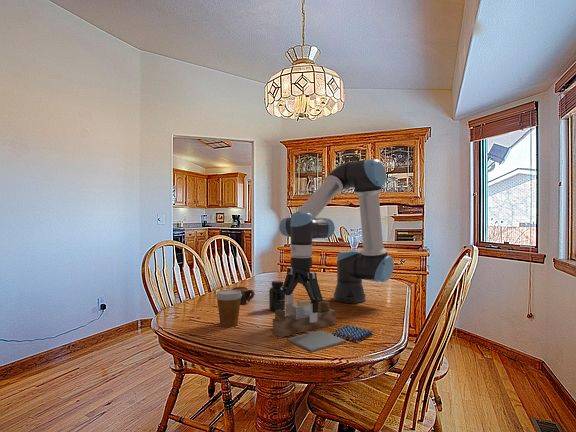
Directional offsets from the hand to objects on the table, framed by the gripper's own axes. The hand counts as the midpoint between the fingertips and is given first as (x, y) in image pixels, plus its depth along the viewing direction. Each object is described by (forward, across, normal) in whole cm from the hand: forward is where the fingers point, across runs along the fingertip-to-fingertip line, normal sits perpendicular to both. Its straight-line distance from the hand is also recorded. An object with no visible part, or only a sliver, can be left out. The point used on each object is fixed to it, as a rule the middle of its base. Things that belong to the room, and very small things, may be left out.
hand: (301, 317), depth 126 cm
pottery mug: (+5, -47, +2) cm, 47 cm away
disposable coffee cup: (+5, -20, -18) cm, 27 cm away
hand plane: (+4, 0, +2) cm, 5 cm away
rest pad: (+4, +12, -3) cm, 13 cm away
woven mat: (+5, +14, +11) cm, 19 cm away
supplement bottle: (+4, -27, +8) cm, 29 cm away
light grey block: (-1, 0, 0) cm, 1 cm away
